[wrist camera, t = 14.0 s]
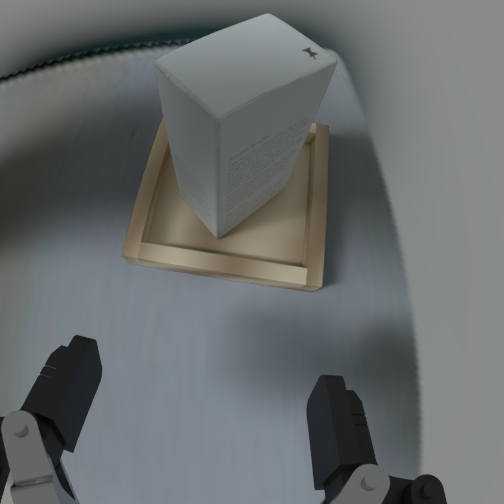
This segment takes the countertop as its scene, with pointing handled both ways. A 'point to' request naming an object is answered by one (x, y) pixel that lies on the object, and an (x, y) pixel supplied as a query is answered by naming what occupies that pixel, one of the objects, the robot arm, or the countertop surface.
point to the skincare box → (240, 114)
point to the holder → (241, 236)
